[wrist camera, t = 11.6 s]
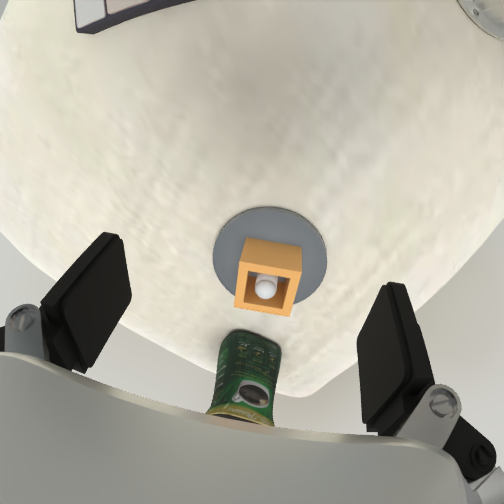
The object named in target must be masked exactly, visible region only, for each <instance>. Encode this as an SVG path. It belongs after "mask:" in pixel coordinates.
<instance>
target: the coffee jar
mask: <svg viewBox="0 0 504 504" xmlns="http://www.w3.org/2000/svg"><path fill="white" fill-rule="evenodd" d="M280 363H281V350H280V348H279V347H278V346H277V345H275V344H273V343H272V342H270V341H268V340H266V339H263V338H261V337H258V336H256V335H253V334H250V333H247V332H242V331H240V332H235V333H232V334H230V335H229V336H228V337H227V338H226V339H225V340H224V341H223V343H222V344H221V347H220V351H219V357H218V365H217V374H216V383H215V389H214V395H213V400H212V403H211V407H210V408H209V410H208V411H207V412H206V413H205V414H208V415H213V416H217V417H222V418H227V419H232V420H237V421H243V422H248V423H254V424H260V425H267V426H273V427H275V426H274V422H273V415H272V414H273V412H272V411H273V401H274V394H275V388H276V383H277V378H278V373H279V368H280Z"/></svg>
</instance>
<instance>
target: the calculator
mask: <svg viewBox="0 0 504 504" xmlns="http://www.w3.org/2000/svg"><path fill="white" fill-rule="evenodd" d="M191 1H195V0H74V13H75V24H76V31H77V32H78V33H86V34H95V33H98V32H100V31H102V30H105V29H107V28H110V27H112V26H115V25H117V24H120V23H121V22H123V21H126V20H129V19H132V18H135V17H138V16H141V15H144V14H147V13H150V12H154V11H157V10H161V9H164V8H168V7H171V6H175V5H179V4H183V3H187V2H191Z"/></svg>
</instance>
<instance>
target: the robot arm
mask: <svg viewBox="0 0 504 504" xmlns="http://www.w3.org/2000/svg"><path fill="white" fill-rule="evenodd" d="M458 2H459V3H460V5H461V7H462V8H463V9H464V11H465V12H466V13H467V15H468V16H469V17H470V18H471V19H472V20H473V21H474V23H476V24H477V25H478V26H479V27H480V28H481V29H482V30H484V31H485V32H487V33H488V34H490V35H491V36H493V37H495V38H498V39H501V40H504V0H458ZM131 298H132V292H131V287H130V281H129V276H128V270H127V264H126V258H125V251H124V244H123V240H122V239H120V237H119V235H117V234H113V233H108V232H103V233H102V234H101V235H100V236H99V237H98V238H97V239H96V240H95V241H94V242H93V243H92V244H91V245H90V246H89V247H88V248H87V249H86V250H85V251H84V252H83V253H82V255H81V256H80V257H79V258H78V259H77V260H76V261H75V262H74V263H73V264H72V266H71V267H70V268H69V269H68V270H67V271H66V272H65V273H64V275H63V276H62V277H61V278H60V279H59V280H58V281H57V283H56V284H55V285H54V286H53V287H52V288H51V290H50V291H49V292H48V293H47V294H46V296H45V297H44V298H43V299H42V301H41V306H40V308H39V309H38V307H37V306H35V305H32V304H23V305H20V306H18V307H16V308H15V309H13V310H12V311H11V312H10V313H9V315H8V317H7V318H6V323H5V326H3V327H0V504H504V472H503V471H502V469H501V468H500V466H499V467H497V468H496V467H495V464H496V451H495V448H494V446H493V444H491V442H490V441H489V440H488V439H487V438H485V437H484V436H483V435H482V434H481V433H480V432H478V431H477V430H476V429H475V428H474V427H473V426H471V425H470V424H469V423H468V422H467V421H466V420H465V419H463V418H462V417H461V416H460V413H461V401H460V399H459V397H458V395H457V393H456V392H455V391H454V390H453V389H452V388H450V387H448V386H446V385H442V384H436V385H435V381H434V377H433V373H432V369H431V365H430V361H429V357H428V354H427V350H426V346H425V343H424V339H423V336H422V332H421V329H420V326H419V325H418V323H417V321H416V317H415V314H414V311H413V308H412V305H411V302H410V299H409V296H408V293H407V290H406V287H405V285H404V284H401V283H395V282H388V283H387V285H383V286H382V287H381V289H380V291H379V293H378V295H377V298H376V300H375V302H374V304H373V306H372V308H371V310H370V313H369V315H368V317H367V319H366V321H365V323H364V325H363V327H362V329H361V331H360V333H359V335H358V338H357V354H358V365H359V378H360V391H361V408H362V422H363V423H364V424H366V427H367V432H378V436H374V435H354V434H339V433H326V432H315V431H305V430H296V429H288V428H280V427H273V426H267V425H260V424H254V423H248V422H243V421H237V420H232V419H227V418H222V417H217V416H213V415H208V414H204V413H200V412H195V411H191V410H187V409H183V408H180V407H176V406H172V405H168V404H165V403H161V402H158V401H154V400H151V399H148V398H144V397H141V396H138V395H135V394H132V393H129V392H126V391H123V390H120V389H117V388H114V387H111V386H108V385H106V384H103V383H100V382H97V381H95V380H92V379H90V378H87V377H84V376H82V375H79V374H77V373H74V372H72V369H74V370H76V371H79V372H81V373H83V374H85V373H86V371H87V369H88V367H89V368H91V367H92V366H93V365H94V363H95V361H96V359H97V358H98V356H99V354H100V352H101V350H102V349H103V347H104V345H105V343H106V342H107V340H108V338H109V337H110V335H111V333H112V332H113V330H114V328H115V327H116V325H117V323H118V322H119V320H120V318H121V317H122V315H123V313H124V312H125V310H126V308H127V307H128V305H129V304H130V302H131Z"/></svg>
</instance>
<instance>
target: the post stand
mask: <svg viewBox="0 0 504 504" xmlns="http://www.w3.org/2000/svg"><path fill="white" fill-rule="evenodd" d="M246 237H248V238H254V239H259V240H265V241H271V242H277V243H282V244H288V245H293V246H299V247H302V273H301V277H300V281H299V284H298V288H297V292H296V295H295V299H294V302H293V304H296V303H298V302H300V301H302V300H304V299H306V298H307V297H309V296H310V295H311V294H312V293H313V292H315V291H316V289H317V288H318V287H319V286H320V284H321V282H322V281H323V278H324V276H325V273H326V268H327V257H326V249H325V245H324V242H323V240H322V237H321V235H320V234H319V232H318V231H317V229H316V228H315V227H314V226H313V225H312V224H311V223H310V222H309V221H308V220H306V219H305V218H304V217H302V216H300V215H299V214H297V213H295V212H292V211H289V210H286V209H282V208H276V207H260V208H254V209H250V210H247V211H245V212H242V213H240V214H238V215H237V216H235V217H234V218H232V219H231V220H230V221H229V222H228V223H227V224H226V225H225V226H224V228H223V229H222V230H221V232H220V234H219V236H218V238H217V241H216V243H215V246H214V250H213V265H214V269H215V272H216V274H217V277H218V279H219V280H220V282H221V283H222V284H223V286H224V287H225V288H226V289H227V290H228V291H229V292H230V293H231V294H233V295H234V296H235V294H236V285H237V277H238V269H239V261H240V258H241V254H242V251H243V247H244V244H245V240H246ZM249 276H252V277H257V279H256V284H255V292H256V294H257V295H258V296H259V297H260V298H262V299H269V298H271V297H273V296H274V295H275V293H276V290H277V281H280V282H285V278H286V277H280V276H275V275H269V274H263V273H258V272H252V271H250V274H249Z"/></svg>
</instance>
